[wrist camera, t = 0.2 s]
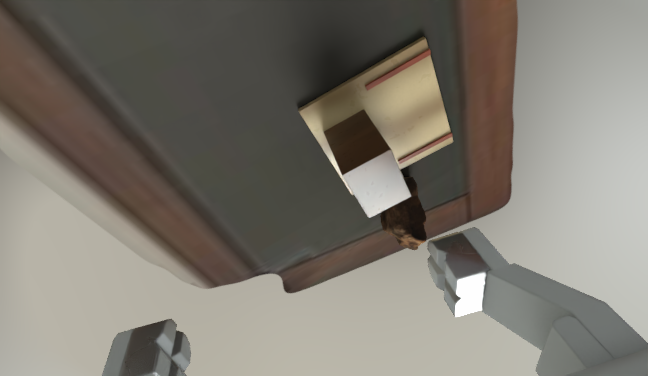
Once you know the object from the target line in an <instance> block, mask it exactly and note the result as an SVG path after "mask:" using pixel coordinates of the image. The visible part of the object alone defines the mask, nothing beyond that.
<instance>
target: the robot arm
mask: <svg viewBox="0 0 648 376" xmlns="http://www.w3.org/2000/svg"><path fill="white" fill-rule="evenodd" d="M428 251H429V252H430V254H431V255H430V257H429V258H428V267H429V270H430V274H431V276H432V279H433V281H434V283H435V284H436V286H437V287H438V288H440V289H441V290H443V291H444V300H445V301H446V303H447V305H448V306H449V308H450V310H451V311H452V313H453V315H454V316H455V317H458V316H461V315H465V314H468V313H472V312H476V311H479V310H482V312H484V313H485V314H487V315H488V316H490V317H491V318H493V319H495V320H496V321H498V322H499V323H501V324H502V325H504V326H505V327H507V328H508V329H510V330H511V331H513V332H514V333H516V334H518V335H519V336H521V337H522V338H523V339H525V340H527V341H528V342H530V343H531V344H533V345H534V346H536V347H537V348H539V349H540V350H542V353H541V355H540V358H539V361H538V364H537V367H536V372H537V374H538V375H539V376H648V343H647V342H646V341H645V340H644V339H643V338H642V337H641V336H640V335H639V334H638V333H637V332H636V331H635V330H634V329H633V328H632V327H630V326H629V325H628V324H627V323H626V322H625V321H624V320H623V319H622V318H621V317H620V316H619V315H618V314H617V313H616V312H615V311H614V310H613V309H612V308H610V307H609V305H608V304H606V303H605V302H603V301H601V300H598V299H596V298H594V297H592V296H589V295H587V294H585V293H582V292H580V291H577V290H575V289H573V288H570V287H568V286H566V285H563V284H561V283H559V282H556V281H554V280H552V279H550V278H547V277H545V276H543V275H540V274H538V273H536V272H533V271H531V270H528V269H526V268H524V267H522V266H519V265H517V264H510V265H509V263H508V262H507V261H506V260H505V259H504V258H503V257H502V256H501V254H500V253H499V252H498V251H497V250H496V249H495V247H494V246H493V245H492V244H491V243H490V242H489V241H488V240H487V238H486V237H485V236H484V235H483V234H482V233H481V232H480V230H479V229H477V228H475V227H473V228H470V229H467V230H463V231H460V232H456V233H452V234H449V235H446V236H443V237H440V238H437V239H433V240H430V241H429V242H428ZM176 327H177V324H176V323H175V322H174V321H173V320H172V319H168V320H164V321H161V322H157V323H153V324H150V325H146V326H142V327H138V328H135V329H131V330H128V331H124V332H121V333H118V334H117V336H116V337H115V338H114V340H113V343H112V346H111V349H110V352H109V356H108V358H107V362H106V365H105V368H104V371H103V374H102V376H186V374H185V373H184V371H185V370H186V368H187V367H188V365H189V364H190V357H191V351H190V343H189V341H188V339H187V337H186V335H185V334H184V333H183V332H180V331H176Z"/></svg>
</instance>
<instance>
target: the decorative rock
mask: <svg viewBox="0 0 648 376" xmlns="http://www.w3.org/2000/svg"><path fill="white" fill-rule="evenodd" d="M404 180H405V182H406V185H407V187H408V189H409V191H410V194H411V197H410V198H408V199H406V200H404V201H402V202H400V203H398V204H396V205H394V206H392V207H390V208H388V209H386V210H384V211H382V213H381V223H382V227H383V230H384V231H386V232H387V233H389V234H391V235H393V236H395V237H396V239H397V241H398V243H399V245H401V246H404V247H407V248H409V249H412V250H417V249H418V246H419V245H420V244H421V243H424V242H425V241H426V238H427V236H426V232H425V229H424V224H425V222H426V216H425V212H424V209H423V208H422V205H421V202H420V200H419V198H418V190H417V184H416V182H415V180H414V179H413V177H405V178H404Z"/></svg>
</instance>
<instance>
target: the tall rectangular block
mask: <svg viewBox="0 0 648 376" xmlns="http://www.w3.org/2000/svg"><path fill="white" fill-rule="evenodd" d="M324 135H325V137H326V139H327V142H328V144H329V146H330V149H331V151H332V153H333V156H334V158H335V160H336V163H337V165H338V167H339V170H340V172H341V174H342V176H343V178H344V179H345V181H346V183H347V184H348V186H349V187H350V189H351V191H352V192H353V194H354V195H355V197H356V198H357V200H358V202H359V203H360V205H361V206H362V208H363V210H364V211H365V213H366V214H367V216H368V218H370V217H372V216H374V215H376V214H378V213H380V212H382V211H384V210H386V209H388V208H390V207H392V206H394V205H396V204H398V203H400V202H402V201H404V200H406V199H408V198H410V197H411V194H410V191H409V189H408V187H407V185H406V182H405V180H404V176H403V174H402V172H401V171H400V169H399V167H398V164H397V162H396V160H395V158H394V154H393V152H392V150H391V148H390V147H389V145H388V144H387V142H386V141H385V139H384V138H383V136H382V135H381V133H380V132H379V130H378V129H377V127H376V126H375V125H374V123H373V122H372V120H371V119H370V117H369V116H368V114H367V113H366V111H365V110H364V109H363V110H361V111H359V112H358V113H356V114H354V115H352V116H351V117H349V118H347V119H345V120H343V121H342V122H340V123H338V124H336V125H335V126H333V127H331V128H329V129H327V130H326V131H324Z"/></svg>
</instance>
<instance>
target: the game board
mask: <svg viewBox="0 0 648 376" xmlns="http://www.w3.org/2000/svg"><path fill="white" fill-rule="evenodd" d="M430 55H431V52H430V49H429V48H428V44H427V41H426V38H425V37H422V38H420V39H418V40H416V41H415V42H413V43H411V44H410V45H408V46H406V47H404V48H403V49H401V50H399V51H397V52H396V53H394V54H392V55H391V56H389V57H387V58H385V59H384V60H382V61H380V62H379V63H377V64H375V65H373V66H372V67H370V68H368V69H366V70H365V71H363V72H361V73H360V74H358V75H356V76H354V77H353V78H351V79H349V80H348V81H346V82H344V83H342V84H341V85H339V86H337V87H335V88H334V89H332V90H330V91H329V92H327V93H325V94H323V95H322V96H320V97H318V98H317V99H315V100H313V101H311V102H310V103H308V104H306V105H305V106H303V107H301V108H299V109H298V110H299V113H300V114H301V116H302V117H303V119H304V120H305V122H306V124H307V125H308V127H309V128H310V130H311V131H312V133H313V135H314V136H315V138H316V139H317V141H318V142H319V144H320V146H321V147H322V149H323V150H324V152H325V153H326V155H327V157H328V158H329V160H330V161H331V163H332V165H333V166H334V168H335V169H336V171H337V172H338V174H339V176H340V177H341V179H342V180H343V182H344V183H345V185H346V187H347V188H348V190H349V191H350V193H351V194H352V195H353V192H352V191H351V189H350V187H349V186H348V184H347V183H346V181H345V179H344V178H343V176H342V174H341V172H340V170H339V167H338V165H337V163H336V160H335V158H334V156H333V153H332V151H331V149H330V146H329V144H328V142H327V139H326V137H325V135H324V131H326V130H327V129H329V128H331V127H333V126H335V125H336V124H338V123H340V122H342V121H343V120H345V119H347V118H349V117H351V116H352V115H354V114H356V113H358V112H359V111H361V110H363V109H364V110H365V111H366V113H367V114H368V116H369V117H370V119H371V120H372V122H373V123H374V125H375V126H376V127H377V129H378V130H379V132H380V133H381V135H382V136H383V138H384V139H385V141H386V142H387V144H388V145H389V147H390V148H391V150H392V152H393V154H394V158H395V160H396V162H397V164H398V167H399V169H400V170H401V169H402V168H404V167H406V166H408V165H410V164H412V163H414V162H416V161H418V160H420V159H421V158H423V157H425V156H427V155H429V154H431V153H433V152H435V151H437V150H438V149H440V148H442V147H444V146H446V145H448V144H450V143H452V142H453V139H452V136H453V135H452V133H451V131H450V127H449V123H448V120H447V116H446V112H445V108H444V105H443V101H442V97H441V93H440V90H439V86H438V82H437V78H436V74H435V71H434V67H433V63H432V59H431V56H430Z"/></svg>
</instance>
